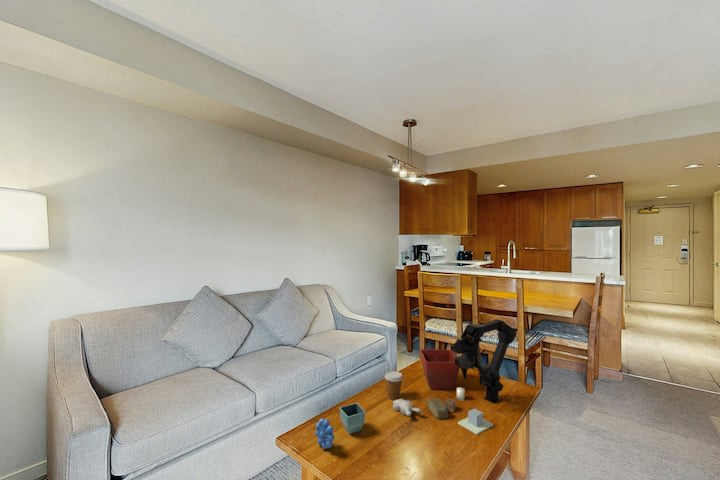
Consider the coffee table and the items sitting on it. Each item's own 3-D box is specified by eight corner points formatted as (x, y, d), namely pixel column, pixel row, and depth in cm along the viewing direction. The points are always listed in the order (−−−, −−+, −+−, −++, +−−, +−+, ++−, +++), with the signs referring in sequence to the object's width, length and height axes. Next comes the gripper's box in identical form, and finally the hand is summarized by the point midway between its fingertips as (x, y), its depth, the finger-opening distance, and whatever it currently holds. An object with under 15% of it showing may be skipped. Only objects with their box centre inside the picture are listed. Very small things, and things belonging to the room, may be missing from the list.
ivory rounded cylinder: (459, 395, 173) (459, 386, 173) (466, 399, 170) (466, 389, 170) (454, 398, 171) (455, 388, 171) (461, 401, 167) (461, 391, 167)
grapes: (342, 451, 128) (342, 420, 128) (328, 458, 124) (328, 427, 123) (325, 437, 137) (325, 408, 137) (311, 443, 132) (311, 414, 132)
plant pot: (461, 393, 176) (461, 362, 176) (425, 392, 176) (425, 361, 176) (451, 377, 195) (451, 349, 195) (419, 377, 196) (419, 349, 195)
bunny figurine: (403, 394, 166) (422, 404, 153) (404, 405, 165) (423, 416, 152) (388, 399, 161) (406, 409, 148) (388, 409, 161) (406, 421, 148)
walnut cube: (447, 406, 162) (447, 398, 162) (455, 408, 160) (455, 400, 160) (444, 410, 159) (444, 401, 159) (452, 412, 157) (452, 404, 157)
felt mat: (474, 415, 154) (474, 414, 154) (493, 425, 146) (493, 424, 146) (457, 423, 147) (457, 422, 147) (476, 434, 139) (476, 433, 139)
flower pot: (347, 438, 136) (347, 417, 136) (338, 427, 144) (339, 407, 144) (365, 432, 140) (366, 411, 140) (356, 422, 148) (356, 402, 148)
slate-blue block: (474, 419, 150) (474, 408, 150) (482, 423, 146) (482, 412, 146) (468, 422, 147) (468, 411, 147) (476, 427, 143) (476, 415, 143)
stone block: (437, 420, 150) (437, 409, 150) (426, 407, 161) (426, 397, 161) (449, 418, 151) (449, 408, 151) (437, 406, 162) (437, 396, 162)
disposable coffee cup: (403, 401, 166) (403, 378, 166) (384, 401, 167) (385, 378, 167) (401, 392, 176) (401, 370, 176) (383, 392, 176) (384, 370, 176)
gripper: (447, 348, 166) (447, 378, 166) (479, 359, 150) (479, 393, 151) (461, 344, 172) (461, 373, 172) (493, 355, 157) (493, 387, 157)
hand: (472, 381), depth 163 cm, fingers open, 9 cm apart
